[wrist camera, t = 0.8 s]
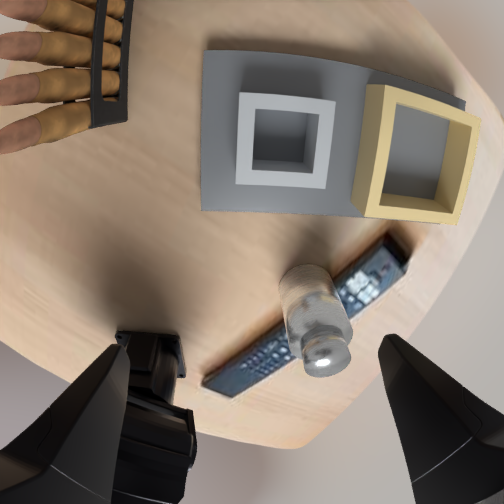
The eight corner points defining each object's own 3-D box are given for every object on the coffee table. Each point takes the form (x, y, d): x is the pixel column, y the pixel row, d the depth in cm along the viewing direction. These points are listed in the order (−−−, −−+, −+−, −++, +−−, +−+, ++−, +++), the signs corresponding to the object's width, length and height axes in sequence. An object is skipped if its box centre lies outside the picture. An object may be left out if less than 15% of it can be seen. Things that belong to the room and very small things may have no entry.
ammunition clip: (111, -17, 11) (4, -77, 1) (137, -22, 11) (43, -99, 1) (103, 123, 16) (-28, 180, 6) (127, 121, 16) (3, 174, 6)
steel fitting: (325, 306, 25) (350, 380, 18) (276, 307, 25) (288, 385, 18) (336, 264, 23) (370, 337, 16) (281, 263, 22) (299, 341, 16)
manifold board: (430, 216, 21) (457, 239, 17) (203, 202, 20) (196, 228, 16) (453, 99, 16) (488, 106, 12) (206, 53, 15) (198, 43, 11)
